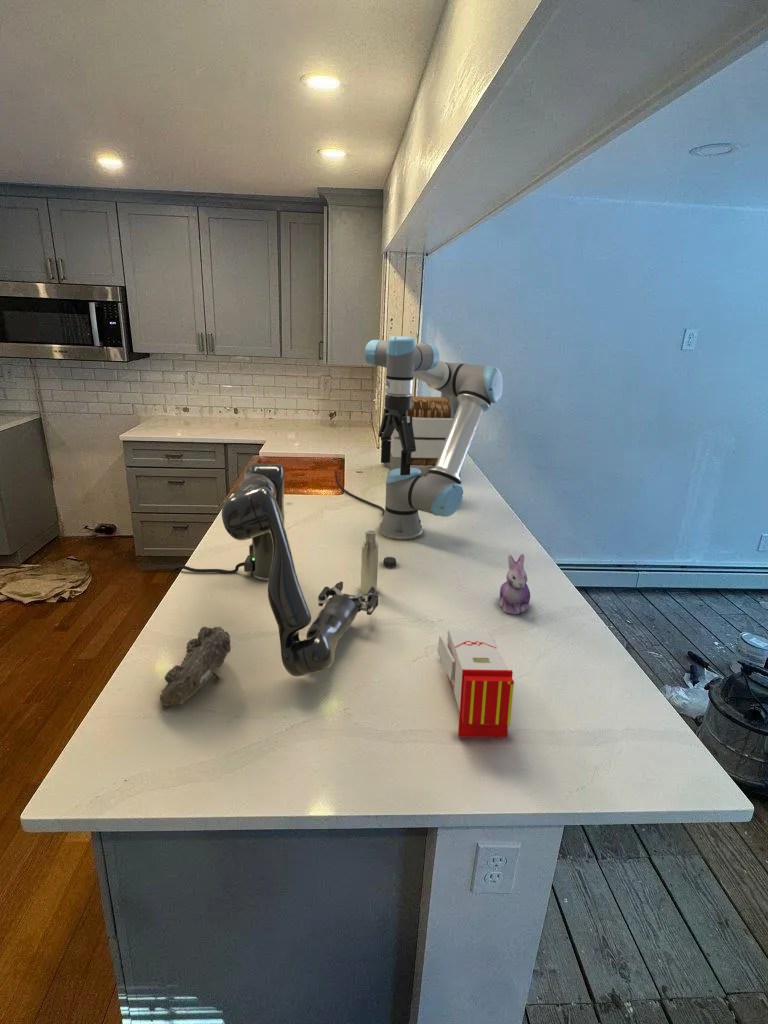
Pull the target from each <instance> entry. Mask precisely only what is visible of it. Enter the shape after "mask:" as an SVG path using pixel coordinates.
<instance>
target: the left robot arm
mask: <svg viewBox="0 0 768 1024" xmlns="http://www.w3.org/2000/svg"><path fill="white" fill-rule="evenodd" d="M284 469H285V468H284V467H283V466H282V464H281V463H251V464H249V465H248V466H247V467H246V468H245V469H244V474H243V479H242V481H241V482H240V483H239V485H238V487H237V488H236V490H235V492H234V494H232V496H230V497H229V498H228V499H226V500H224V502H223V504H222V507H221V519H222V524H223V526H224V530H226V532H227V533H228V535H229V536H230V537H231V538H233V539H234V540H236V541H239V542H240V541H247V540H251V544H249V545H248V551H249V552H248V555H246V558H245V560H244V561H243V562H239V563H237V564H236V565H235V567H234V569H232V570H228V569H222V568H194V567H191V566H187V565H176V566H175V567H174V568H173V569H172V570H171V572H177V571H178V570H186V571H189V572H192V573H221V574H228V575H229V574H231V575H233V574H236V573H237V572H239V568H241V567H243V572H245V573H246V572H247V573H249V575H250V577H253V578H255V579H257V580H259V581H262V582H263V581H264V582H267V586H266V587H267V588H266V589H267V591H266V592H267V600H268V604H269V606H270V610H271V612H272V614H273V617H274V620H275V623H276V625H277V629H278V635H279V645H280V646H279V647H280V657H281V663H282V665H283V668H284V669H285V671H286V672H287V673H288V674H289V675H290V676H292V677H303V676H306V675H307V676H308V675H311V674H315V673H319V672H323V671H325V670H327V669H328V668H330V667H331V666H332V664H333V663H334V661H335V655H336V651H337V650H336V649H337V644H338V643H339V642H340V640H341V638H342V636H343V635H345V633H346V632H347V630H348V629H349V628H350V627H351V625H352V623H353V621H354V620H355V618H356V617H357V615H358V613H360V612H361V611H363V612H366V615H367V616H371V615H372V614H373V613H374V611H375V610H376V609H377V607H378V606H379V598H380V597H379V595H377V592H376V589H374V587H371V588H370V590H369V591H368V593H367V594H362V593H361V592H360V593H358V594H348V593H342V591H343V589H344V582H343V581H339V582H337V583H335V585H334V586H332V587H331V588H330V587H329V586H324V587H323V588H322V590H321V591H320V592H319V594H318V597H317V598H318V599H317V605H318V607H322V609H320V611H319V612H318V614H317V615H316V618H315V619H314V620H313V622H312V614H311V611H310V608H309V606H308V602H307V601H306V598H305V596H304V592H303V590H302V588H301V584H300V582H299V578H298V574H297V571H296V566H295V562H294V557H293V554H292V549H291V545H290V542H289V538H288V534H287V531H286V527H285V470H284ZM330 596H331V597H330ZM311 622H312V623H311ZM308 626H309V627H308ZM307 627H308V629H307V631H306V634H305V635H306V637H305V638H304V639H300V631H301V630H303V629H305V628H307Z"/></svg>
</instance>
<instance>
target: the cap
mask: <svg viewBox="0 0 768 1024" xmlns="http://www.w3.org/2000/svg"><path fill="white" fill-rule="evenodd" d="M382 566H383V567H385V568H388V569H392V568H395V567H396V566H397V558H395V557H392V556H386V557H384V558H383V560H382Z"/></svg>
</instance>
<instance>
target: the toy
mask: <svg viewBox="0 0 768 1024" xmlns="http://www.w3.org/2000/svg"><path fill="white" fill-rule="evenodd" d="M446 640H447V643H446V641H445V639H444V636H443V635H442V634H439V637H438V646H437V656H438V657H439V659H440V661H441V663H442V666H443V668H444V670H445V672H446V674H447V677H448V679H449V681H450V684H451V687H452V690H453V693H454V697H455V701H456V705H457V708H458V711H459V714H458V715H459V716H458V730H457V731H458V732H457V737H458V738H508V731H509V726H510V725H511V717H512V707H513V697H514V696H513V695H514V684H515V680H514V679H513V673H514V671H513V670H512V669H508V667H507V665H506V662H505V661H504V659H503V658H502V655H501V653H500V651H499V649H498V647H497V643H496V639H495V637H494V635H493V634H491V632H490V631H489V629H467V628H466V629H465V628H463V629H461V628H460V629H459V628H448V630H447V639H446Z"/></svg>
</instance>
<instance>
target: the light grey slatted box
mask: <svg viewBox="0 0 768 1024" xmlns="http://www.w3.org/2000/svg"><path fill="white" fill-rule="evenodd" d="M440 393H441V394H440V396H415V395H414V396H413V395H410V396H411V397H412V406H411V409H410V410H407V411H406V414H407V416H412V426H413V433H414V439H415V446H416V451H415V452H412V453H411V466H410V467H412V466H413V467H415V466H416V467H417V466H418V467H435V465H436V462H437V460H438V457H439V455H440V452H441V449H442V447H443V444H444V442H445V439H446V436H447V434H448V431H449V429H450V426H451V424H452V421H453V418H454V416H455V413H456V411H457V408H458V405H459V402H458V400H457V397H453V396H450V395H447V394H445V393H443V392H440ZM391 439H392V440H388V441H391V452H390V463H382V464H383V466H384V467H388V468H389V471H391V470H394V469H398V468H401V451H402V450H403V449H402V445H401V441H400V438H399V434H398V432H397V431H396V429H394V431H393V434H392V436H391ZM461 472H462V470H461V471H460V474H459V477H460V478H461Z"/></svg>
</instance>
